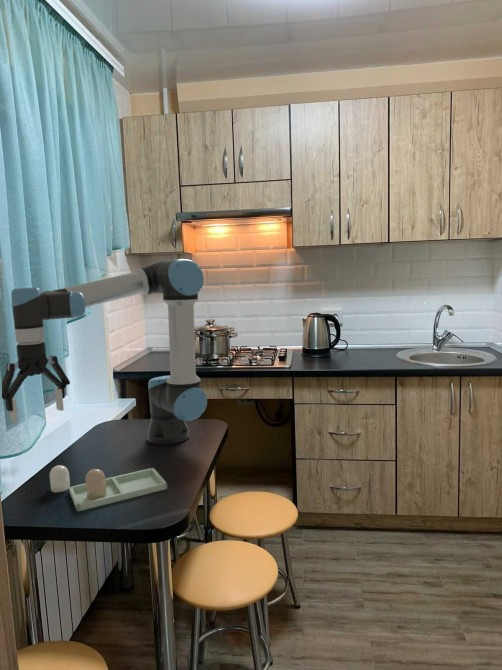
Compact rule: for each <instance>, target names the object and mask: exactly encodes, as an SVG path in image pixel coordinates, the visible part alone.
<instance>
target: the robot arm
mask: <svg viewBox="0 0 502 670" xmlns="http://www.w3.org/2000/svg"><path fill="white" fill-rule="evenodd" d="M204 281H205V279H204V273H203V271H202V269H201V267H200V266H199V264H197V263H196V262H195V261H193V260H190V259H185V258H178V259H166V260H165V259H164V260H161V261H158V262H154V263H152V264H149V265H146V266H142V267H138V268H136V269H135V271H133V272H129V273H126V274H120V275H115V276H111V277H107V278H102V279H98V280H94V281H88V282H85V283H80V284H76V285H73V286H67V287H64V288H58V289H54V290H45V291H42V292H41V290H40V288H39V287H36V286H35V287H32V286H31V287H17V288H14V289H12V290H11V291H10V292H11V294H10V296H11V308H12V309H11V310H12V316H13V325H14V336H15V343H17V344H16V346H15V347H16V355H17V362H14V363H12V362H7V363H6V372H5V373H4V377H3V380H2V382H1V384H2V398H3V399H2V400H4V401H5V409H6V410H7V412H9V414H10V415H9V416H10V421H11V422H12V423H15V424H16V423H19V419H18V411H17V409H18V407H17V400H16V399H17V398H14V397H15V395H16V394H17V392H18V390H19V389H20V387H21V386H22V384H23V382H24V381H25V380H26V379H27V378H28V376H29V377H33V376H36V375H38V376H39V375H41V374H43V375H44V376H45V377H46V379H48V380H50V382H51V383H53V384H54V385H55V386H56V387H55V388H54V393H55V395H54V396H55V404H56V410H58V411H61V412H62V411H64V401H63V399H65V398H66V394H65V393H66V392H65V389H66V388H67V386H69V385H70V383H71V382H70V379H69V378H68V376H67V375H66V373H65V372H64V370H63V368H62V367H61V365H60V364H59V361H58V357H57V356H56V355H51V354H50V355H49V357H47V349H46V348H47V347H46V342H44V341H45V340H46V339H45V329H44V321H48V320H59V319H74V318H80V317H83V316H84V314H85V312H86V308H87V307H88V308H89V307H92V306H95V305H96V306H97V305H101V304H103V303H104V304H105V303H108V302H114V301H116V300H117V301H118V300H120V299H125V298H128V297H132V296H136V295H142V296H148V295H152V294H153V295H154V294H162V299H163V302H164V303H165V304H167V311H168V312H167V313H168V314H167V315H168V317H167V318H168V338H169V339H168V340H169V341H168V342H169V367H170V368H169V373H170V375H162V376H161V375H160V376H157V377H153V378H151V379H149V381H148V383H147V384H148V386H147V387H148V388H147V391H148V399H149V411H150V422H149V426H148V430H147V434H146V435H147V436H146V437H147V442H149V443H150V444H153V445H159V446H160V445H161V446H162V445H165V446H166V445H174V444H179V443H182V442H184V441H186V440H187V439H188V438H189V437H190V429H189V427H188V426H187V423H186V421H187V422H191V421H194V420H196V419H197V420H198V418H200V417H201V416H202V414H203V413H204V412H205V411H206V408H207V406H208V398H207V397H208V395H206V393H205V391H204V390H203V389H202V388H201V387H202V386H201V385H202V384H201V381H202V380H201V378H200V377H199V376H198V375H197V373H196V372H197V368H196V367H197V366H196V364H197V363H196V340H195V339H196V337H195V336H196V335H195V334H196V333H195V308H194V307H195V303H197V301H198V300H199V293H200V291H201V289H202V288H203V285H204ZM47 364H50V365H51V368H53V370H54V372H55V374H56V375H57V376H56V375H54V373H52V371H51V370H50V369H49V368H48V367H46V366H47ZM17 369H19V371H18V373H17V375H16V377H15V379H14V376H15V372H16V371H17ZM13 379H14V380H13ZM12 381H13V382H12Z"/></svg>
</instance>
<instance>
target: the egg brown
mask: <svg viewBox="0 0 502 670" xmlns="http://www.w3.org/2000/svg"><path fill="white" fill-rule="evenodd" d="M105 479H106V476H105V473H104V471H103V470H101V469H98V468H93V469H90V470H89V471H88V472H87V473H86V475H85V480H84V481H85V483H86V491H87V498H88V499H89V500H96V499H100V498H104V497H105V496H106V495H107V491H106V481H105Z"/></svg>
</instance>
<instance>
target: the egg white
mask: <svg viewBox="0 0 502 670" xmlns="http://www.w3.org/2000/svg"><path fill="white" fill-rule="evenodd" d="M70 481H71V479H70V472H69V469H68V468H67V467H66V466H65V465H61V464H59V465H58V464H57V465H56V466H53V467H52V468H51V470H50V472H49V482H50V491H51V492H52V493H62V492H66V491H69V487H71V482H70Z"/></svg>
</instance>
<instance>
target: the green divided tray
mask: <svg viewBox="0 0 502 670" xmlns="http://www.w3.org/2000/svg"><path fill="white" fill-rule="evenodd" d="M105 481H106V491H107V495H106V496H105V497H104V498H100V499H96V500H89V499H88V498H87V491H86V482H85V483H81V484H77V485H76V484H75V485H72V486H70V487H69V489H68V491H69V495H70V497H71V499H72V502H73V505H74V507H75V509H76V512H80V511H85V510H91V509H94V508H97V507H101V506H105V505H109V504H112V503H116V502H120V501H125V500H128V499H132V498H136V497H141V496H144V495H148V494H152V493H157V492H160V491H164V490H168V483H167V481H165V479H164V478H163V477H162V476H161V475H160V473H159V472H158V471H157V470H156V469H155V468H154V467H150V468H146V469H141V470H137V471H133V472H129V473H125V474H120V475H116V476H111V477H107V478H106V477H105Z"/></svg>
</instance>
